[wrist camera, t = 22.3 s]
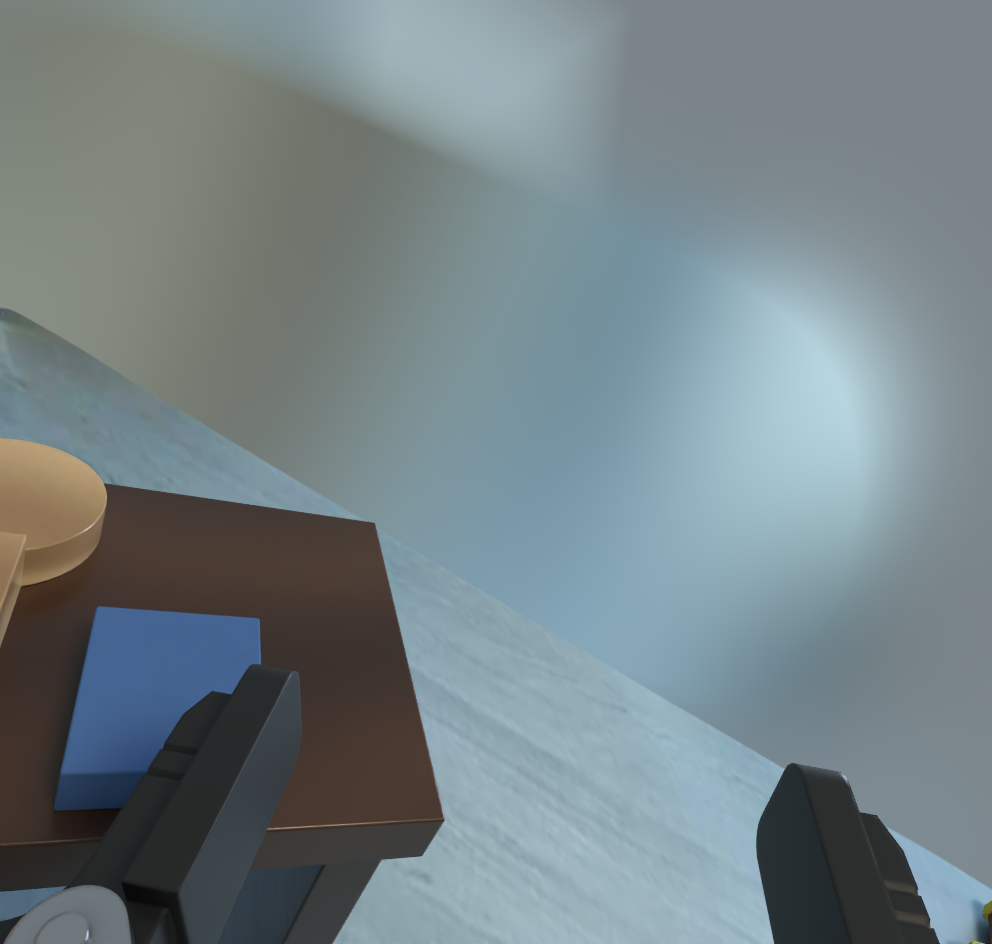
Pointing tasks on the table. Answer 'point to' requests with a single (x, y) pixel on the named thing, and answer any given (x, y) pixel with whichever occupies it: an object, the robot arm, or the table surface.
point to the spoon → (44, 516)
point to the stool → (283, 644)
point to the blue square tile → (143, 694)
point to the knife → (991, 916)
